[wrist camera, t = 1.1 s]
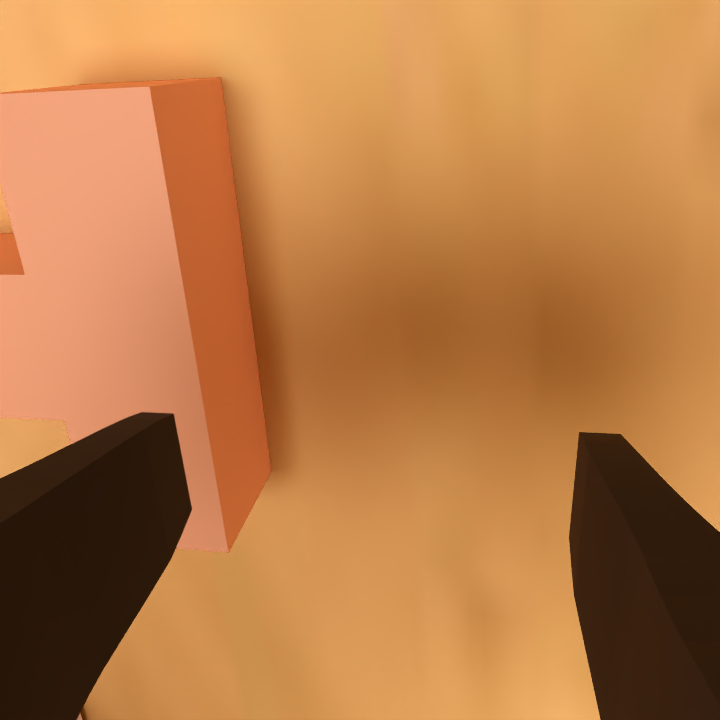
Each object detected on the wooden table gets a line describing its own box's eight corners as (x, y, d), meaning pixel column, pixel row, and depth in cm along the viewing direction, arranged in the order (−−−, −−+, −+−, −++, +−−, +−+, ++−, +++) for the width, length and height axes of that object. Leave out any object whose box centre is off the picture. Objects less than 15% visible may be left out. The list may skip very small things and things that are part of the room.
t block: (271, 471, 22) (228, 552, 19) (-46, 451, 24) (-138, 520, 21) (221, 77, 17) (149, 86, 14) (-172, 97, 19) (-322, 110, 16)
